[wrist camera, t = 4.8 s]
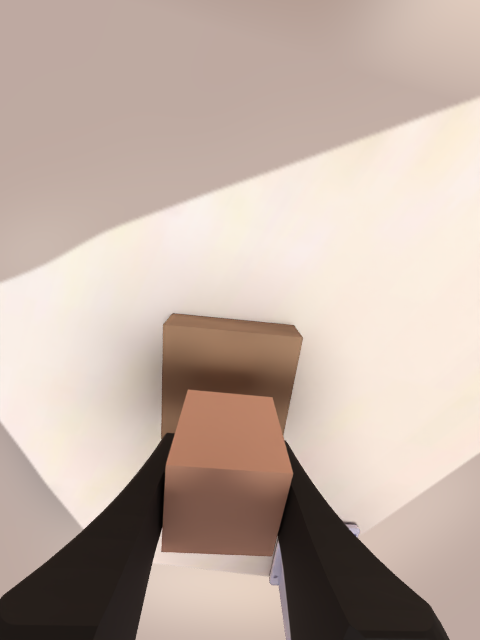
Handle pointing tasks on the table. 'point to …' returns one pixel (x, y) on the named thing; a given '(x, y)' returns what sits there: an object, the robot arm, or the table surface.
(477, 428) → the table surface
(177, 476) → the cube
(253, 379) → the base block
